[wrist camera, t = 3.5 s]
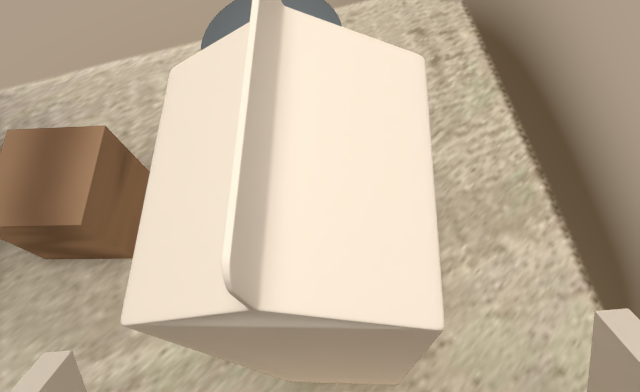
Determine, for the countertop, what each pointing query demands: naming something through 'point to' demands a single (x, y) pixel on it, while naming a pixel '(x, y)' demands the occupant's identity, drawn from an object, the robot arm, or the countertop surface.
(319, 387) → the countertop surface
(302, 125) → the milk
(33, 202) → the walnut block
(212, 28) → the slate jar
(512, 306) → the countertop surface
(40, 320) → the countertop surface
